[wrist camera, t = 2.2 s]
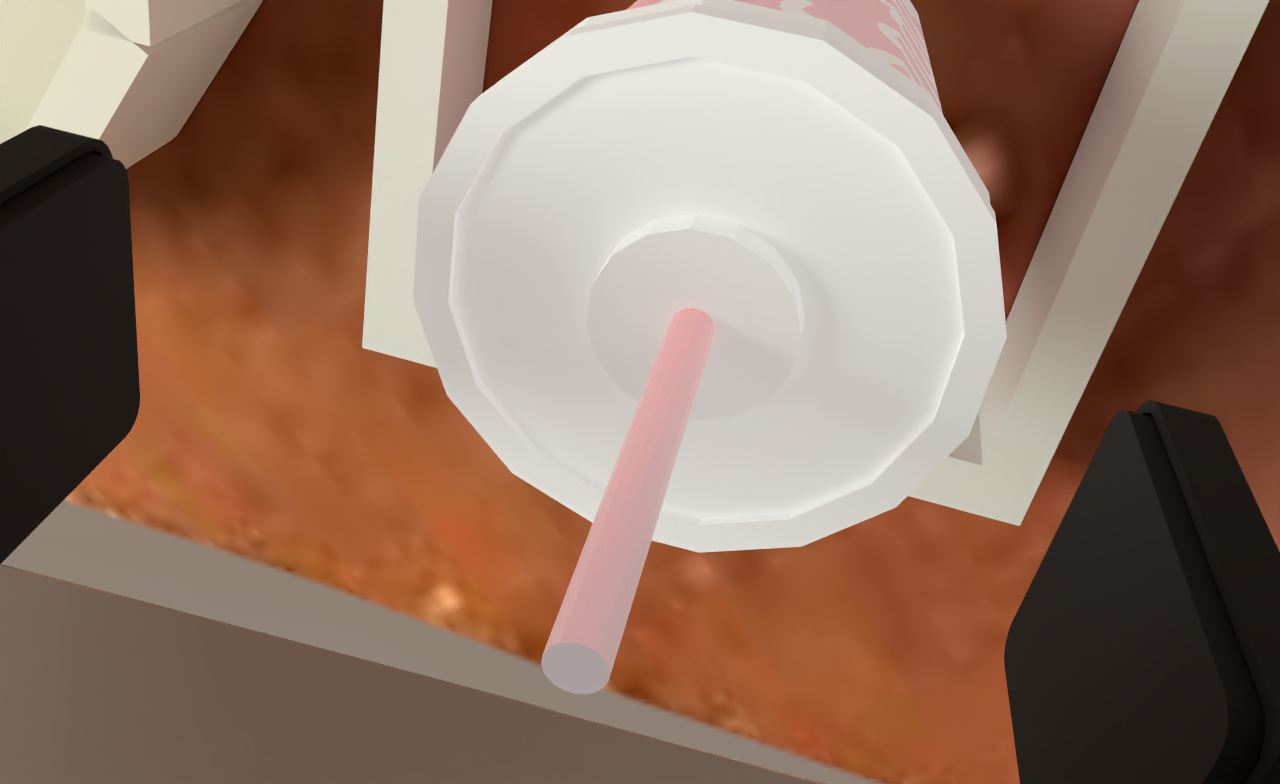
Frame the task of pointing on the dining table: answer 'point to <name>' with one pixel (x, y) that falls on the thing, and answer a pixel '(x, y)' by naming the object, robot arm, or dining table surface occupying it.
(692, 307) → the beverage cup
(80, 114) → the bowl
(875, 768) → the dining table surface
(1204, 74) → the open square frame
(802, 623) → the dining table surface
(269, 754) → the robot arm
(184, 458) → the dining table surface
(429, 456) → the dining table surface
